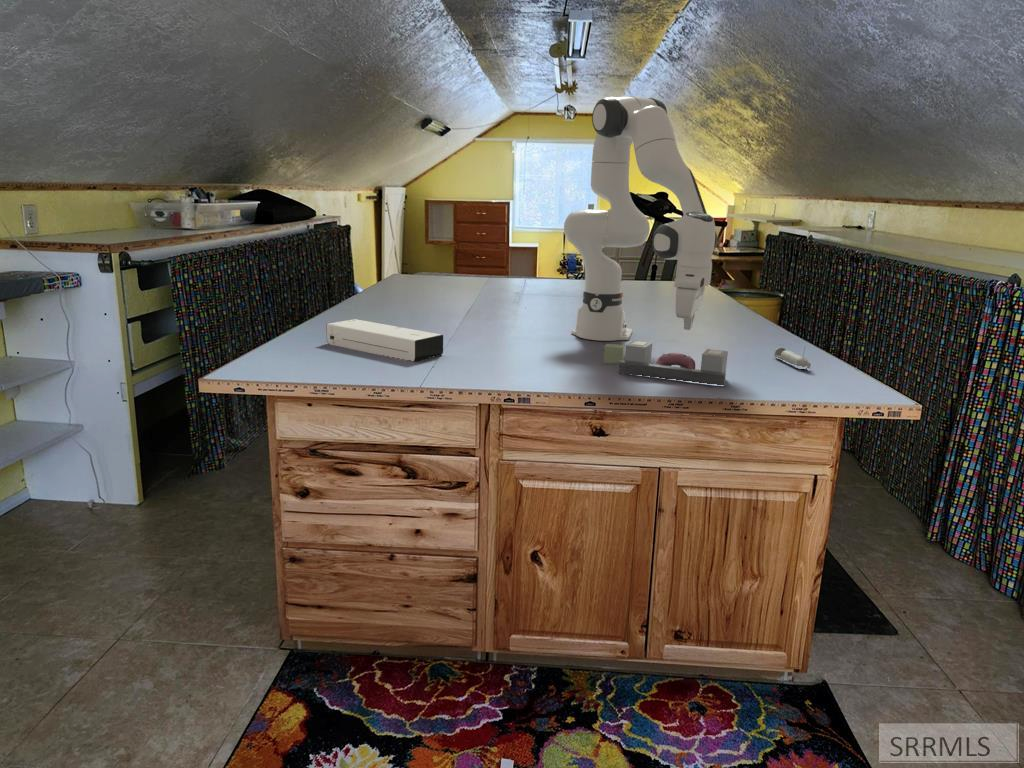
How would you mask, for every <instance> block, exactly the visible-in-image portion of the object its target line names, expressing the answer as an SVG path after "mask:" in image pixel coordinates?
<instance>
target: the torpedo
mask: <svg viewBox="0 0 1024 768" xmlns="http://www.w3.org/2000/svg"><path fill="white" fill-rule="evenodd" d="M803 348H804V349H803V352H805V349H806V346H804V347H803ZM804 355H805V353H803V354H802V355H799V354H798V353H796V352H794V351H792V350H788V349H786V348H784V347H778V348H777V347H776V349H775V350H774V352H773V356H774V358H775V357H778V358H780V359H782V360H785V361H787V362H789V363H791V364H794V365H797V366H802V367H807V368H809V369H810V370H811V368H813V366H812V364H811V362H809V360H808V359H807V358H806V357H805V356H804Z"/></svg>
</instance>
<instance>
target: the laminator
mask: <svg viewBox="0 0 1024 768" xmlns="http://www.w3.org/2000/svg"><path fill="white" fill-rule="evenodd" d="M325 327H326V328H325V329H326V331H325V332H326V342H327V344H328V345H330V346H336V347H340V348H345V349H349V350H354V351H359V352H364V353H369V354H374V355H379V356H383V355H384V357H387V356H389V357H388V358H392V357H395V358H394V359H397V358H400V359H399V360H402V359H405V360H404V361H406V360H411V361H415V362H418V361H417V360H419V361H422V360H421V359H423V360H426V359H425V358H427V359H430V358H429V357H431V358H434V357H433V356H435V357H438V356H437V355H439V356H442V355H444V354H443V353H444V335H443V334H439V333H435V332H434V333H433V332H429V331H424V330H417V329H413V328H412V329H411V328H407V327H402V326H396V325H390V324H385V323H384V324H383V323H380V322H378V323H377V322H374V321H368V320H362V319H357V318H353V319H348V320H347V319H346V320H340V321H335V322H330V323H329V322H328V323H326V325H325ZM441 354H442V355H441ZM411 361H410V362H411Z"/></svg>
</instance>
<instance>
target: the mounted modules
mask: <svg viewBox="0 0 1024 768" xmlns="http://www.w3.org/2000/svg"><path fill="white" fill-rule="evenodd" d="M652 351H653V342H650V341H649V342H648V341H642V340H641V341H639V340H632V341H631V342H629V343H627V344H626V345H625V351H624V360H625V361H633V362H641V363H649V364H652V362H651V361H652ZM728 353H729V351H728V350H719V349H713V348H712V349H710V348H707V349H706V350H705V351H704V352H703V353H702V354H701V363H700V370H705V371H713V372H721V373H726V374H727V364H728V363H727V362H728V361H727V360H728Z"/></svg>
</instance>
